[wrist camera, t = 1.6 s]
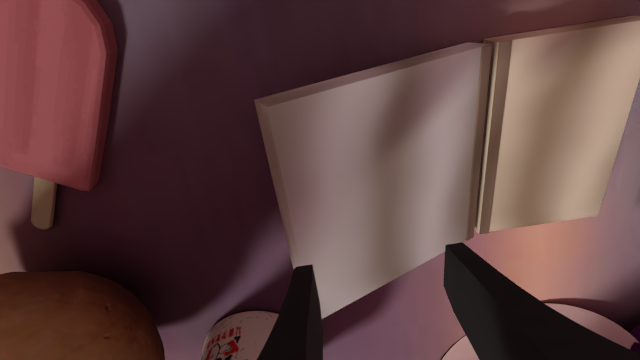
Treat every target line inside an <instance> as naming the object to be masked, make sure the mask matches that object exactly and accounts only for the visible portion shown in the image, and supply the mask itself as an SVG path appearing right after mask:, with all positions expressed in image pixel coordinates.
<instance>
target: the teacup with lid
mask: <svg viewBox="0 0 640 360" xmlns="http://www.w3.org/2000/svg"><path fill="white" fill-rule="evenodd" d="M278 315H279V314H277V313H273V312H267V311H247V312H241V313H237V314H234V315H231V316H229V317H227V318H225V319H223V320H221V321H220V322H218V323H217V324H216V325H215V326H214V327H213V328H212V329H211V330H210V331H209V333H208V335H207V337H206V339H205V343H204V347H203V350H202V354H201V358H200V360H257V358H258V356H259V354H260V352H261V351H262V349H263V347H264V345H265V343H266V341H267V339H268V337H269V335H270V333H271V331H272V329H273V326H274V324H275V322H276V320H277V318H278Z"/></svg>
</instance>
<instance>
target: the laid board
mask: <svg viewBox="0 0 640 360" xmlns="http://www.w3.org/2000/svg"><path fill="white" fill-rule="evenodd" d="M483 43H484V44H492V50H491V61H490V71H489V81H488V92H487V102H486V113H485V123H484V134H483V144H482V154H481V165H480V175H479V186H478V196H477V206H476V217H475V227H474V229H475V230H476V232H477V233H480V234H483V233H489V232H490V231H497V230H504V229H510V228H517V227H524V226H531V225H538V224H545V223H551V222H558V221H565V220H572V219H579V218H585V217H592V216H598V214H599V211H600V208H601V205H602V201H603V198H604V195H605V191H606V188H607V185H608V181H609V178H610V175H611V172H612V168H613V165H614V162H615V158H616V155H617V152H618V148H619V145H620V142H621V139H622V135H623V132H624V129H625V125H626V122H627V119H628V115H629V112H630V109H631V106H632V102H633V99H634V96H635V92H636V89H637V86H638V82H639V79H640V16H627V17H621V18H614V19H608V20H601V21H595V22H589V23H582V24H576V25H569V26H563V27H556V28H550V29H543V30H537V31H530V32H524V33H517V34H511V35H504V36H498V37H491V38H485V39H483Z"/></svg>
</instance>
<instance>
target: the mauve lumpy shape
mask: <svg viewBox="0 0 640 360" xmlns="http://www.w3.org/2000/svg"><path fill="white" fill-rule="evenodd" d="M544 304H546V305H548V306H549V307H551V308H552V309H554V310H556V311H558V312H559V313H561V314H563V315H564V316H566V317H568V318H569V319H571V320H573V321H575V322H577V323H578V324H580V325H582V326H584V327H586V328H588V329H590V330H592V331H594V332H595V333H597V334H599V335H601V336H603V337H605V338H607V339H609V340H611V341H613V342H615V343H618V344H620V345H622V346H624V347H626V348H628V349H630V350H633V351H635V352H637V353H639V354H640V325H638V326H636V327H635V328H634V329H633V330H632V331H631V332H630V333H628V332H627V331H626V330H624V329H623V328H622V327H620V326H619V325H617V324H616V323H614V322H613V321H611V320H609V319H607V318H605V317H603V316H601V315H599V314H596V313H594V312H591V311H588V310H585V309H582V308H579V307H574V306H570V305H563V304H551V303H544ZM442 360H479V358H478V356H477V354H476V353H475V351H474V349H473V347H472V345H471V343H470V341H469V339H468V338H467V336H464V337H463V338H461V339H460V340H459V341H458V342H457V343H456V344H455V345H454V346H453V347H452V348H451V349H450V350H449V351H448V352H447V354H446V355H445V356H444V357H443V359H442Z"/></svg>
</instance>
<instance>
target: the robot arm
mask: <svg viewBox="0 0 640 360" xmlns="http://www.w3.org/2000/svg"><path fill="white" fill-rule="evenodd" d="M444 288H445V290H446V293H447V296H448V298H449V301H450V303H451V306H452V308H453V311H454V313H455V315H456V317H457V319H458V321H459V322H460V324H461V326H462V328H463V330H464V332H465V334H466V336H467V338H468V339H469V341H470V343H471V345H472V347H473V349H474V351H475V353H476V354H477V356H478V358H479V360H640V354H639V353H637V352H635V351H633V350H630V349H628V348H626V347H624V346H622V345H620V344H618V343H615V342H613V341H611V340H609V339H607V338H605V337H603V336H601V335H599V334H597V333H595V332H594V331H592V330H590V329H588V328H586V327H584V326H582V325H580V324H578V323H577V322H575V321H573V320H571V319H569V318H568V317H566V316H564V315H563V314H561V313H559V312H558V311H556V310H554V309H552V308H551V307H549V306H548V305H546V304H544V303H543V302H541V301H540V300H538V299H537V298H535V297H534V296H532V295H531V294H529V293H528V292H526V291H525V290H523V289H522V288H520V287H519V286H518V285H516V284H515V283H513V282H512V281H511V280H509V279H508V278H507V277H505V276H504V275H503V274H501V273H500V272H499V271H497V270H496V269H495V268H494V267H492V266H491V265H490V264H489V263H487V262H486V261H485V260H483V259H482V258H481V257H480V256H479V255H477V254H476V253H475V252H474V251H472V250H471V249H470V248H469V247H467V246H466V245H465V244H463V243H462V242H461V243H455V244H448V245H445V266H444ZM257 360H323V329H322V318H321V308H320V301H319V296H318V290H317V285H316V280H315V275H314V270H313V265H312V264H311V265H304V266H297V267H295V269H294V270H293V275H292V279H291V282H290V286H289V289H288V292H287V295H286V298H285V300H284V303H283V305H282V308H281V310H280V313H279V315H278V318H277V320H276V322H275V324H274V326H273V329H272V331H271V333H270V335H269V337H268V339H267V341H266V343H265V345H264V347H263V349H262V351H261V352H260V354H259V356H258V358H257Z"/></svg>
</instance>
